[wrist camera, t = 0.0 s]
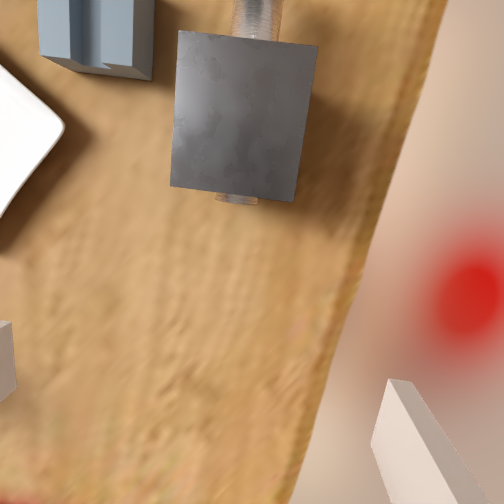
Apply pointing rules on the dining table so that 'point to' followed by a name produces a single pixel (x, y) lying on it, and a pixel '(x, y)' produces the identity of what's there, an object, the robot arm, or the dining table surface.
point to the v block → (98, 36)
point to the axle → (255, 27)
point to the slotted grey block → (240, 114)
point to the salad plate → (22, 135)
